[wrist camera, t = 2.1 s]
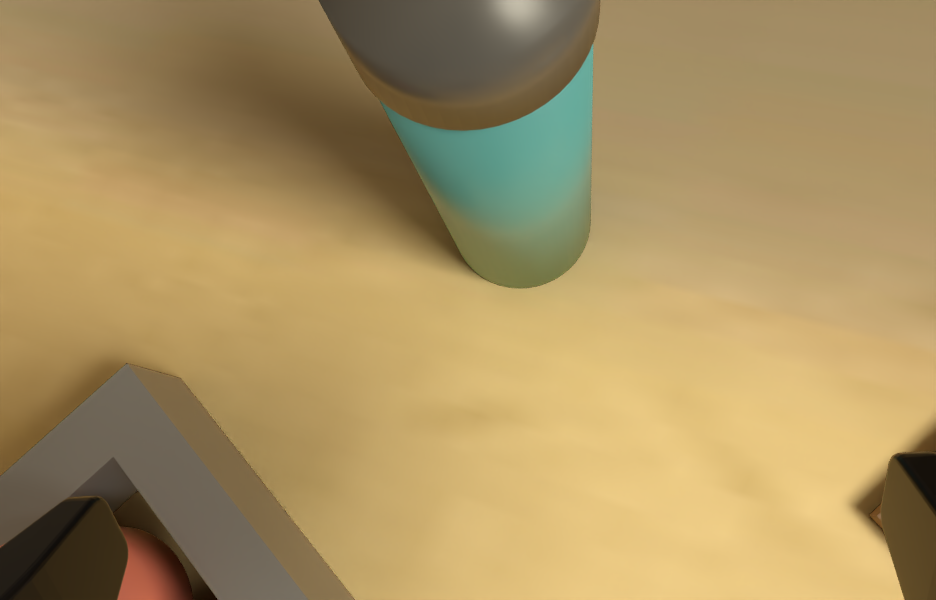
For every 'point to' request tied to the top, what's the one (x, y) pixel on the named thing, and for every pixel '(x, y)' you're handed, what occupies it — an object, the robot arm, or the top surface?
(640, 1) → the top surface
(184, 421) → the button box
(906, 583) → the robot arm
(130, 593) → the button
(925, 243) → the top surface
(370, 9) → the marker
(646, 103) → the top surface
